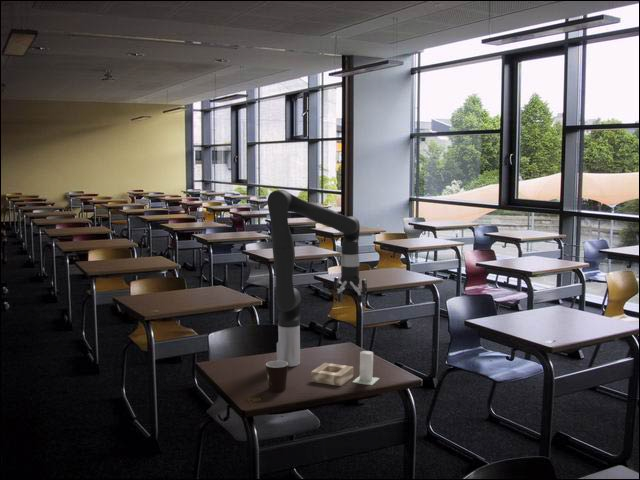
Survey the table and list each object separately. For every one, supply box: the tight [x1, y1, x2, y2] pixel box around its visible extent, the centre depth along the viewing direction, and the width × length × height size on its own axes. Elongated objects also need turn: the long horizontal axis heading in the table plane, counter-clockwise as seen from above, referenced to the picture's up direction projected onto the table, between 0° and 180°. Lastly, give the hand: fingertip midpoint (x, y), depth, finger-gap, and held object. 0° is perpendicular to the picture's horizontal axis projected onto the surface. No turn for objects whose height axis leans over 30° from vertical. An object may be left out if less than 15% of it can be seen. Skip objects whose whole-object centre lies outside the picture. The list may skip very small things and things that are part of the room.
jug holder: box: [310, 362, 354, 387], centre depth 258 cm, size 13×13×4 cm
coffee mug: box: [265, 360, 289, 393], centre depth 248 cm, size 12×9×10 cm
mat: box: [351, 375, 380, 386], centre depth 256 cm, size 8×8×1 cm
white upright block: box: [358, 350, 374, 382], centre depth 255 cm, size 5×7×11 cm
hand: (350, 302), depth 269 cm, fingers open, 8 cm apart
